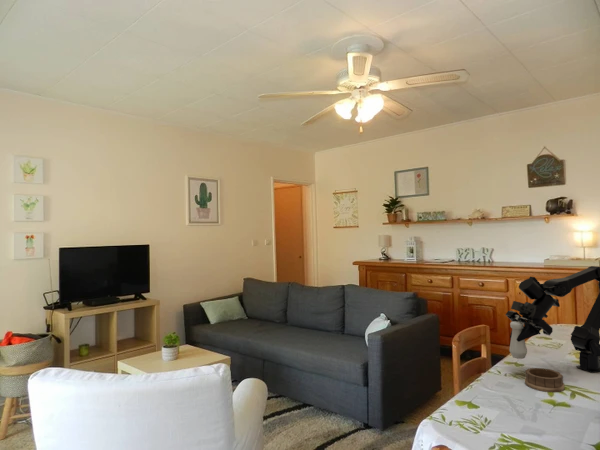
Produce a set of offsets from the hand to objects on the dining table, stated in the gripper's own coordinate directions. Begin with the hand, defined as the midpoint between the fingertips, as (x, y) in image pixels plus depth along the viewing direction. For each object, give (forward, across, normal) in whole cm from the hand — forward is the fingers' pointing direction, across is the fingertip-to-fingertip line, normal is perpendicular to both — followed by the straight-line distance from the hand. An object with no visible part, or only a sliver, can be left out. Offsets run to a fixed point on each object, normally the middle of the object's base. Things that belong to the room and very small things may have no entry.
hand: (514, 339), depth 147 cm
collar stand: (+7, +10, +12) cm, 17 cm away
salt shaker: (+4, 0, +6) cm, 7 cm away
